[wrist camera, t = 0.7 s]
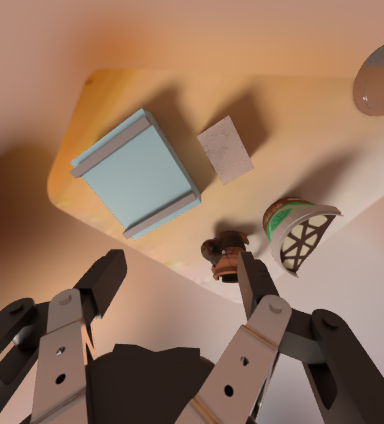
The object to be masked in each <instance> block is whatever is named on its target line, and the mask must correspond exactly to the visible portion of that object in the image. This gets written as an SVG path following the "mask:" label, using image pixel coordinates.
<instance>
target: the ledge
mask: <svg viewBox="0 0 384 424" xmlns="http://www.w3.org/2000/svg"><path fill="white" fill-rule="evenodd" d="M70 163H71V164H72V166H73V167H74V169H72V170H71V171H70V173H71V174H72V175H73V176H74V177H75V178H78V177H81V176H82V178H83V179H84V180H85V181H86V183H87V184H88V185H89V186H90V187H91V189H92V190H93V191H94V192H95V193H96V195H97V196H98V197H99V198H100V199H101V201H102V202H103V203H104V204H105V205H106V207H107V208H108V209H109V210H110V212H111V213H112V214H113V215H114V216H115V218H116V219H117V220H118V221H119V222H120V224H121V225H122V226H123V227H124V228H125V231H124V232H123V235H124V237H125V238H126V239H128V238H130V237H132V238H133V239H134V240H136V239H138V238H140V237H141V236H143V235H145V234H147V233H148V232H150V231H152V230H154V229H156V228H157V227H159V226H161V225H163V224H165V223H166V222H168V221H170V220H172V219H174V218H175V217H177V216H179V215H181V214H183V213H184V212H186V211H188V210H190V209H192V208H193V207H195V206H197V205H199V204H201V193H200V192H199V190H198V188H197V187H196V185H195V184H194V182H193V180H192V179H191V177H190V175H189V174H188V172H187V171H186V169H185V167H184V166H183V164H182V162H181V161H180V159H179V158H178V156H177V154H176V153H175V151H174V149H173V148H172V146H171V144H170V143H169V141H168V140H167V138H166V136H165V135H164V133H163V131H162V130H161V128H160V127H159V125H158V123H157V122H156V120H155V118H154V117H153V115H152V113H151V112H149V111H147V110H145V109H143V108H141V109H140V110H138V111H137V112H136V113H134V114H133V115H132V116H130V117H129V118H128V119H126V120H125V121H124V122H122V123H121V124H120V125H119V126H117V127H116V128H115V129H113V130H112V131H111V132H109V133H108V134H107V135H105V136H104V137H103V138H102V139H100V140H99V141H98V142H96V143H95V144H94V145H92V146H91V147H90V148H88V149H87V150H86V151H84V152H83V153H82V154H81V155H79V156H78V157H77V158H75V159H74V160H73V161H71V162H70Z"/></svg>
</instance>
